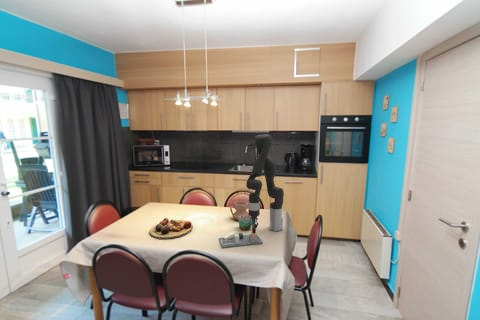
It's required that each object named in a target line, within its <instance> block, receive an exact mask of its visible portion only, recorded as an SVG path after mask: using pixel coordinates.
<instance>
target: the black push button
mask: <svg viewBox="0 0 480 320" xmlns="http://www.w3.org/2000/svg"><path fill="white" fill-rule="evenodd" d="M237 234H238V235H239V239H242V238H243V235H244V233H242V232H239V233H237Z"/></svg>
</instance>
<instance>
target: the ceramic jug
mask: <svg viewBox="0 0 480 320" xmlns="http://www.w3.org/2000/svg"><path fill="white" fill-rule="evenodd" d="M233 209H234V210H235V211H234V212H233ZM247 209H249V201H245V200H244V201H243V200H242V201H241V200H237V201H234V202H233V205H232V206H230V208H229V210H230V213H231V216H232V218H233V219H235V221H239V219H238V215H239V216H247V217H251V216H249V214H248V211H247Z"/></svg>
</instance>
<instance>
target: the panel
mask: <svg viewBox="0 0 480 320" xmlns="http://www.w3.org/2000/svg"><path fill="white" fill-rule="evenodd" d="M218 241H219V244H220V247H221V249H228V248H237V247H246V246H254V245H255V246H256V245H262V244H263V241H262V239H261V238H260V236H259V235H258V233H257V237H251V233H248V234H243V238H242V239H239V242H238V243H235V236H234V237H232V238H230V239H228V240H225V239H224V236H223V237H218Z"/></svg>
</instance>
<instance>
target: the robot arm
mask: <svg viewBox="0 0 480 320" xmlns="http://www.w3.org/2000/svg"><path fill="white" fill-rule="evenodd" d="M254 143H255V146H256V147H255V148H256V150H257V153H258V156H257V158H256V159H255V161H254V163H253V165H252V170H251V173H250V174H249V176H248V178H247V181H246V183H245V185H246V188H247V190H253V191H254V192H250V193H249V194H248V207H249V208H248V211H247V212H248V214H249V216H250V221H251V232H252V233H256V232H257V231H256V230H257V229H258V226H259V222H258V218H257V217H259V216H260V214H261V213H260V211H261V210H260V209H261V208H260V207H261V204H260V195H261V191H262V189H263V188H262V187H263V182H262V180H261V179H257V178H260V177H262V175H264V177H265V178H264V179H265V183H266V190H267V191H266V192H267V195H268V197H269V198H271V199H274V201H273V202H271V203H270V204H269V230H270V231H273V232H280V231H281V230H284V229H283V225H284V224H283V223H284V218H283V215H282V214H283V205H284V195H285V193H284V192H285V191H284V189H283V188H282V187H279V186H276V185H275V176H276V173H277V168H276V164H275V161H274V160H273V159H272V157H270V155H269V152H270V150H271V147H272V145H273V137H272V136H271V135H270V134H257V135H256V136H255V137H254Z"/></svg>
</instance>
